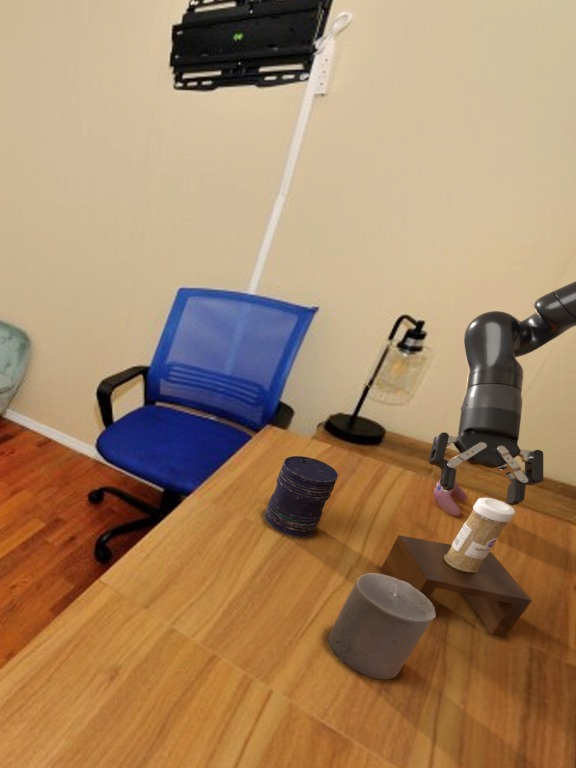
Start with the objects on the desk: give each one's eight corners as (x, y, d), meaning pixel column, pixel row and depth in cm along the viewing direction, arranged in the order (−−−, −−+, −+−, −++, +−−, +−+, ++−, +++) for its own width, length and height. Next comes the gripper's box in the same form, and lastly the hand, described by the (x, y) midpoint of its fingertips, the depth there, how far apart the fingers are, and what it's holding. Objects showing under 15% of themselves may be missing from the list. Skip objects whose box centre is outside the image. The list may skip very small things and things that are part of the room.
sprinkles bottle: (471, 577, 88) (511, 517, 82) (438, 561, 91) (473, 502, 85) (481, 567, 90) (520, 507, 84) (448, 552, 93) (483, 493, 87)
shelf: (468, 587, 97) (491, 552, 93) (504, 637, 87) (532, 600, 83) (380, 569, 102) (398, 534, 98) (405, 615, 92) (426, 579, 88)
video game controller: (442, 499, 124) (436, 472, 123) (468, 500, 120) (463, 472, 119) (433, 516, 118) (427, 488, 117) (460, 517, 114) (455, 489, 114)
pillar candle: (319, 650, 86) (351, 587, 79) (337, 619, 91) (368, 557, 84) (391, 692, 79) (433, 626, 72) (406, 656, 84) (446, 592, 78)
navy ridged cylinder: (323, 539, 109) (349, 483, 102) (274, 535, 111) (296, 480, 104) (302, 510, 118) (323, 457, 111) (256, 507, 120) (275, 454, 113)
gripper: (449, 398, 93) (438, 480, 90) (559, 415, 87) (551, 505, 83) (430, 411, 100) (418, 489, 96) (530, 429, 93) (521, 512, 90)
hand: (480, 496), depth 90 cm, fingers open, 8 cm apart
